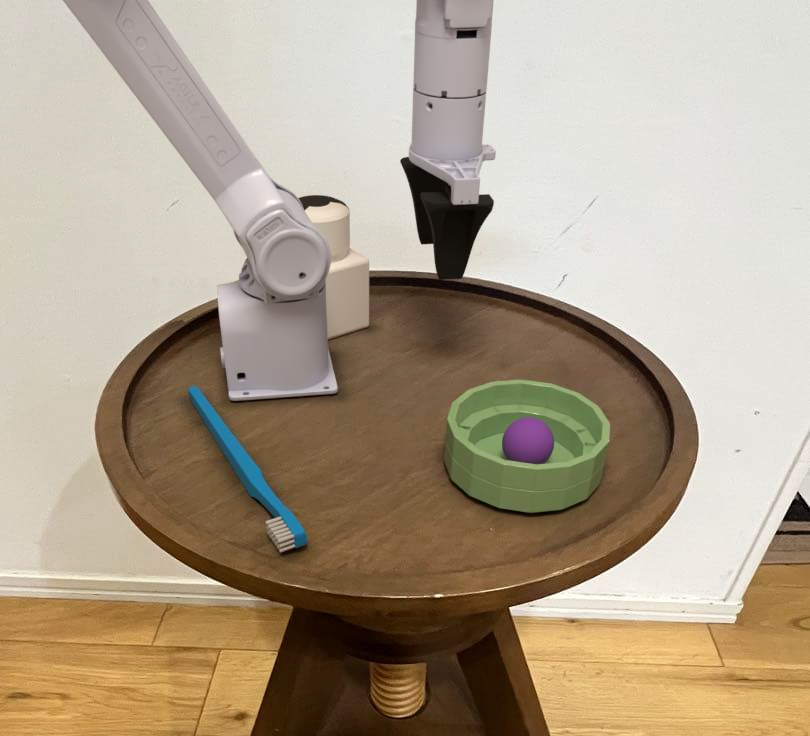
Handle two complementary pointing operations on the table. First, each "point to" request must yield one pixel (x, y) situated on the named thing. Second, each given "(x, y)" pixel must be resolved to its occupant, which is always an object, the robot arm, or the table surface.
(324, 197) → the cylinder-topped cream block
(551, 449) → the ball
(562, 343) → the table surface
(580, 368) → the table surface
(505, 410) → the bowl
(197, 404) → the toothbrush
